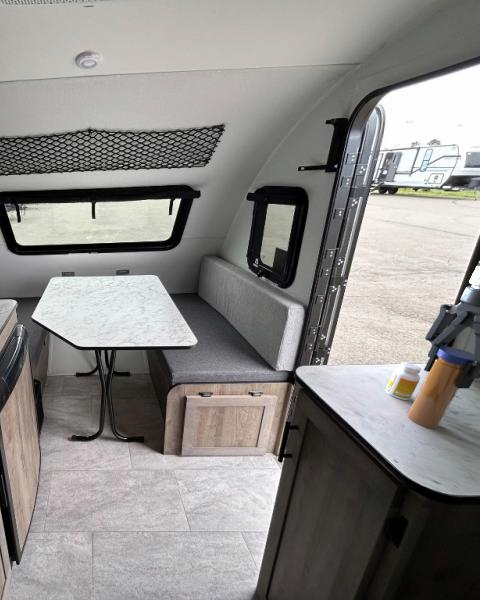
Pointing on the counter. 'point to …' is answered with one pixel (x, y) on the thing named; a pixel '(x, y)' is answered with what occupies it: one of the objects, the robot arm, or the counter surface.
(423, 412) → the jar
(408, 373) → the supplement bottle
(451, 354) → the jar lid
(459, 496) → the counter surface
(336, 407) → the counter surface
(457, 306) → the robot arm
